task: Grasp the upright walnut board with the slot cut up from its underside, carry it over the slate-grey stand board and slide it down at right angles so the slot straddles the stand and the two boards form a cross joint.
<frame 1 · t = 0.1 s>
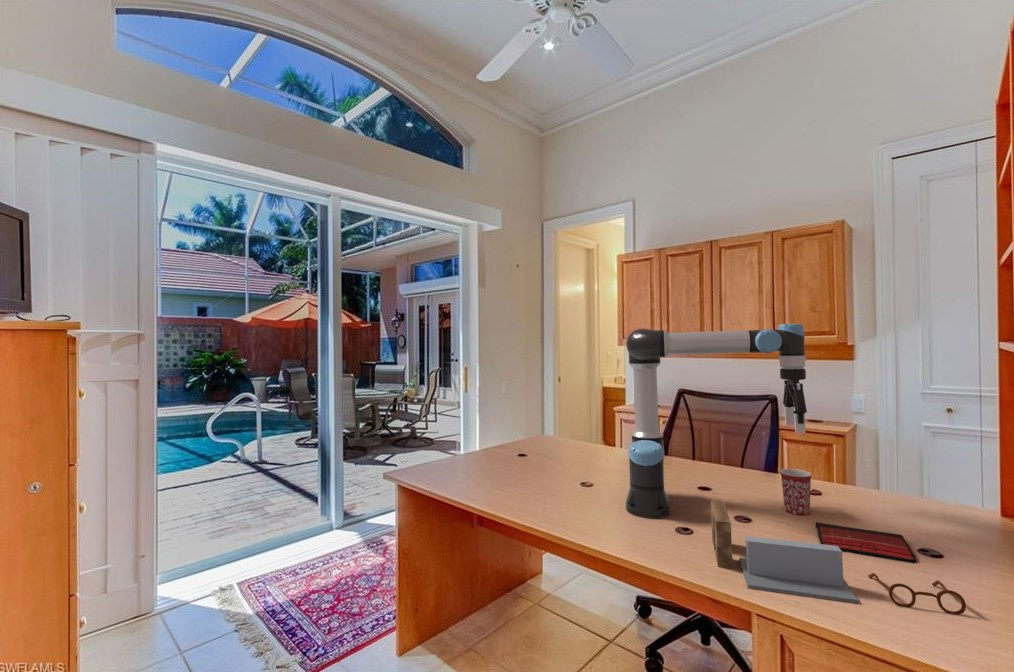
hand: (795, 429, 154), 28 cm above the table, fingers open, 13 cm apart
stand board: (793, 580, 110), on the table
mug: (798, 510, 154), on the table
black and red tablet: (862, 546, 128), on the table
glasses: (913, 597, 103), on the table
slotted board: (721, 553, 125), on the table
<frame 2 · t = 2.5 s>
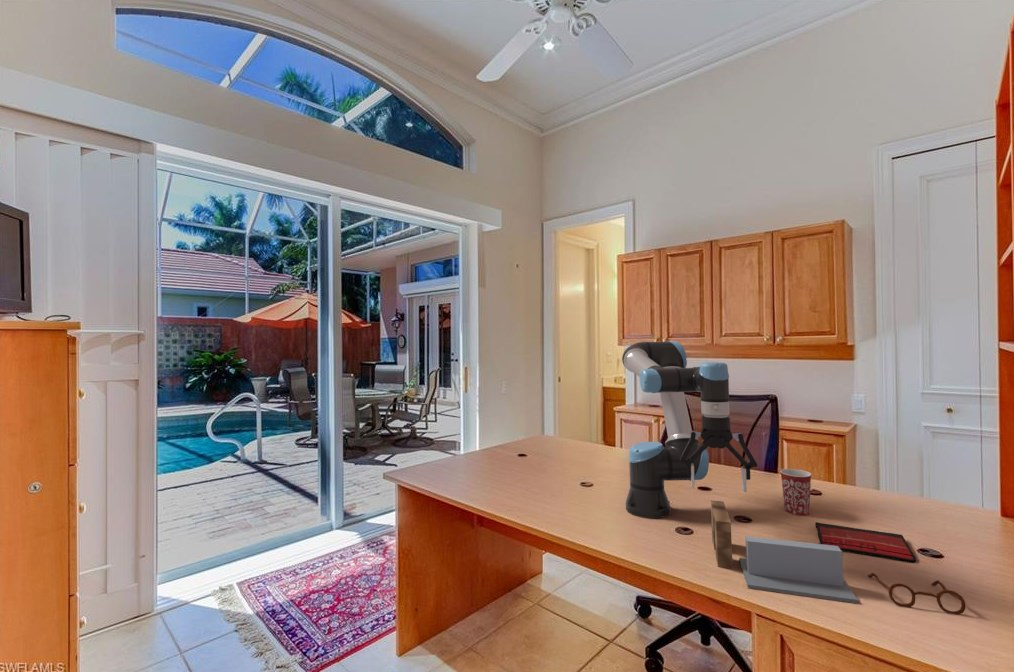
hand: (718, 488, 129), 17 cm above the table, fingers open, 13 cm apart
nothing on the table moved.
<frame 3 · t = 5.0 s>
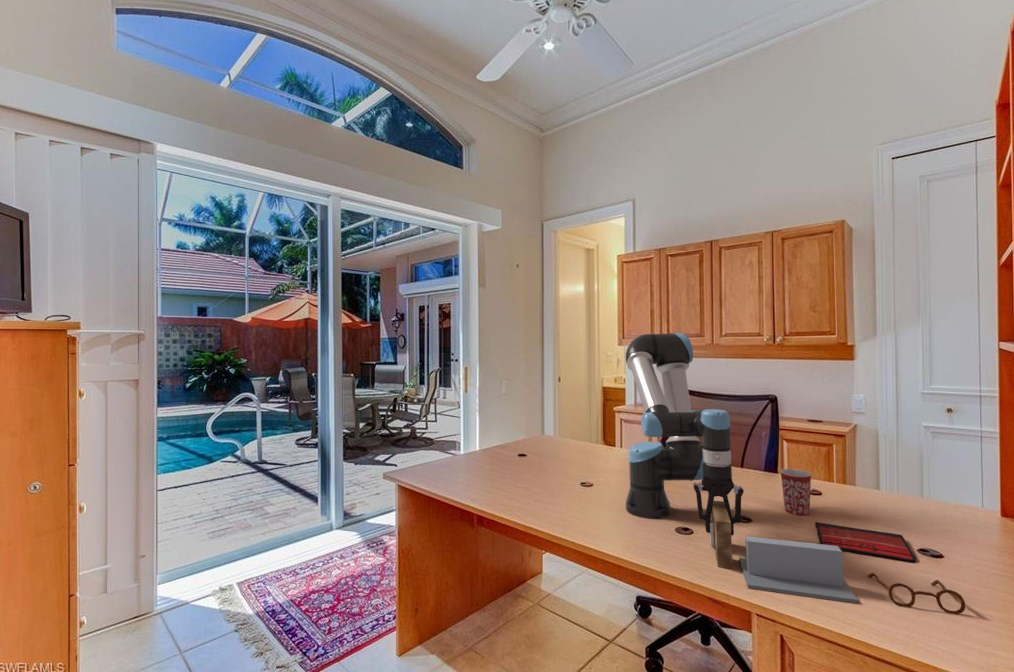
hand: (719, 544, 129), 1 cm above the table, fingers closed on slotted board, 3 cm apart
slotted board: (721, 553, 125), on the table, touching gripper
everything else where it was.
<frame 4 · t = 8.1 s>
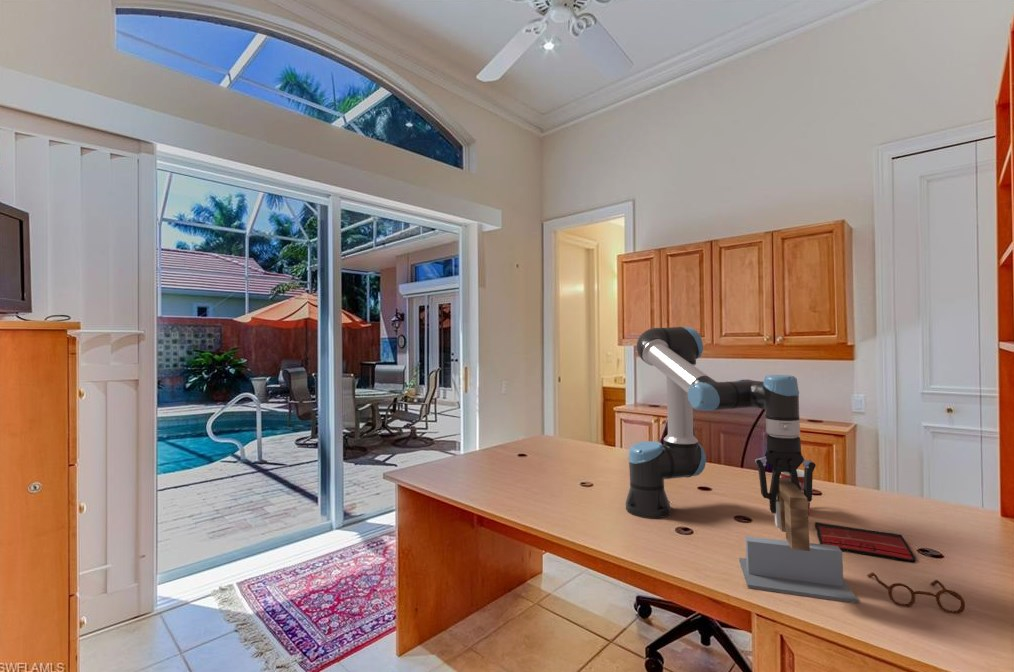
hand: (787, 526, 115), 12 cm above the table, fingers closed on slotted board, 3 cm apart
slotted board: (791, 535, 110), point 11 cm above the table, touching gripper
everything else where it was.
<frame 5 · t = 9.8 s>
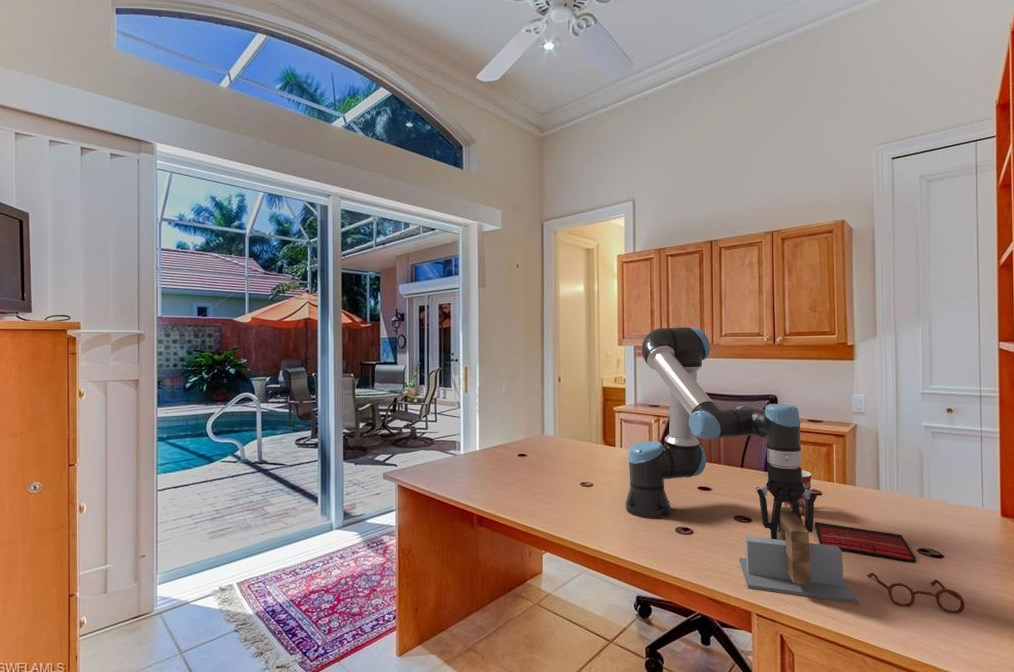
hand: (788, 556, 114), 4 cm above the table, fingers closed on slotted board, 3 cm apart
slotted board: (793, 567, 110), point 3 cm above the table, touching gripper
everything else where it was.
when the fingers open (2 cm above the table, at t = 11.1 s): slotted board stays where it is, resting on stand board.
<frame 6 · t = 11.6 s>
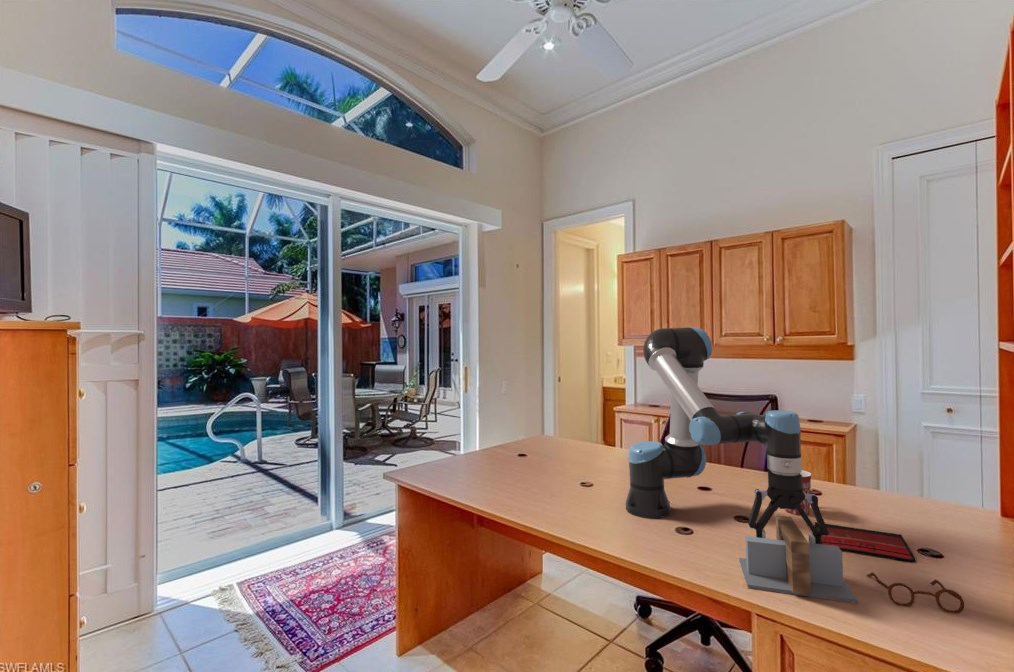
hand: (788, 558, 115), 3 cm above the table, fingers open, 10 cm apart
slotted board: (792, 576, 110), point 1 cm above the table, touching stand board
everything else where it was.
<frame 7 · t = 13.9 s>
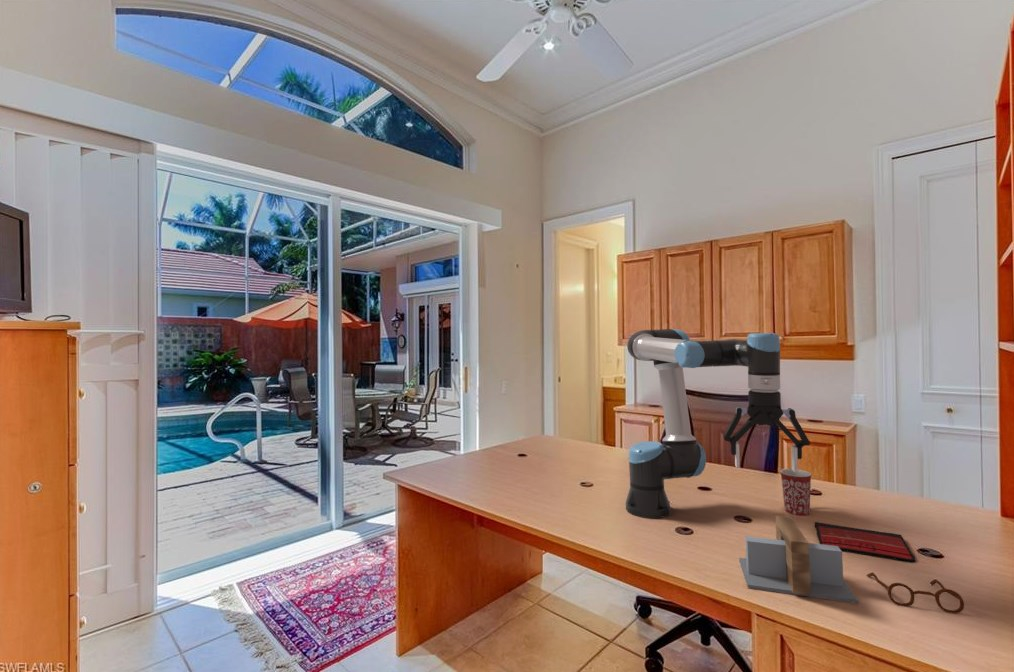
hand: (765, 468, 120), 25 cm above the table, fingers open, 13 cm apart
nothing on the table moved.
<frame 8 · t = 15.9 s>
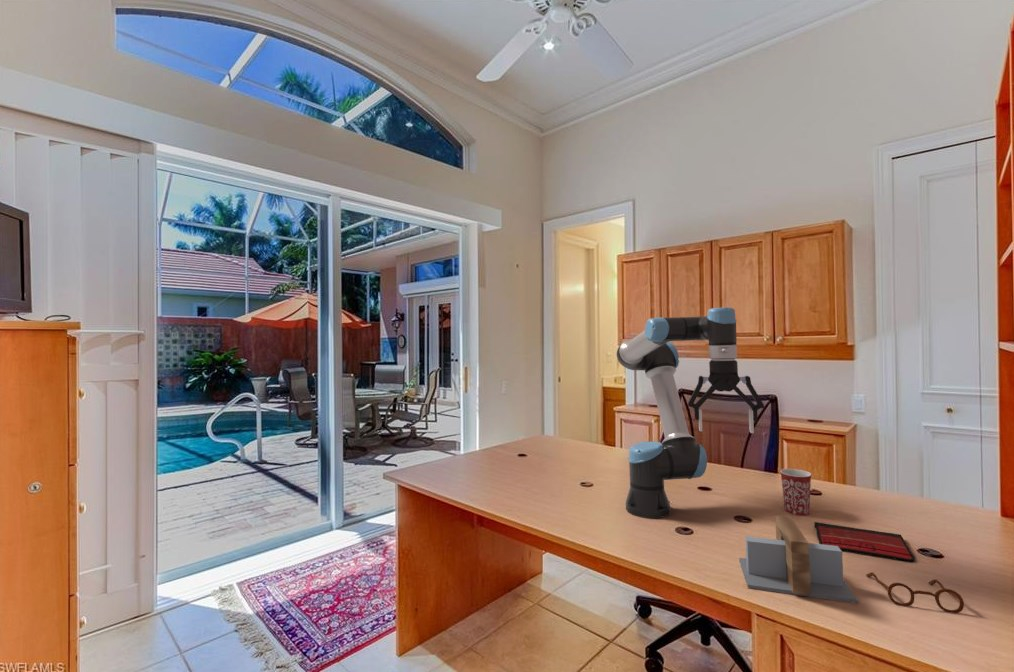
hand: (725, 431, 132), 33 cm above the table, fingers open, 13 cm apart
nothing on the table moved.
at the end: slotted board 0.0 cm off-centre on the stand board, point 0.8 cm above the stand board's base; slotted board tilted 0°; the gripper is holding nothing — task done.
